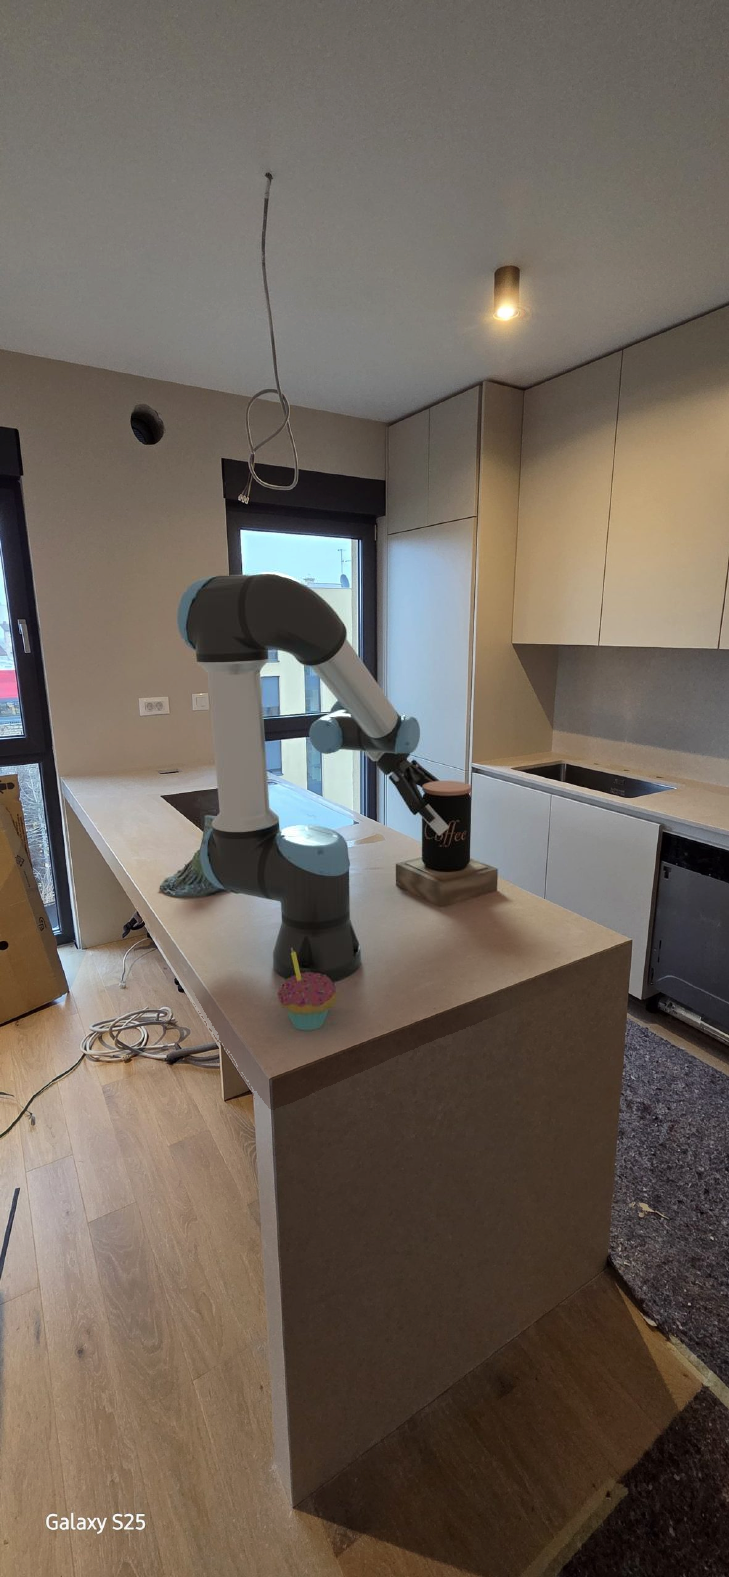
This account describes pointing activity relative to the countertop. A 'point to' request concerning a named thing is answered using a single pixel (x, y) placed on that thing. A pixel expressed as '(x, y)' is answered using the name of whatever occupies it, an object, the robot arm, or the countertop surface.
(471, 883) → the wooden tray
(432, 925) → the countertop surface
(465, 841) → the coffee jar
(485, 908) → the countertop surface
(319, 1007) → the cupcake
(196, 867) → the tree stump
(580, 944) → the countertop surface
